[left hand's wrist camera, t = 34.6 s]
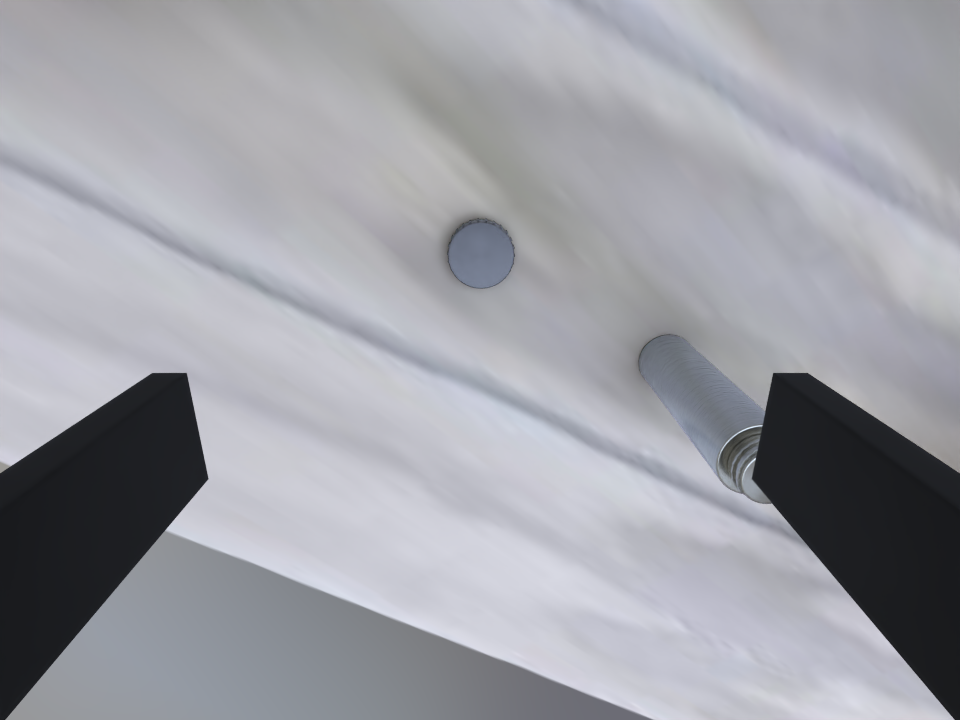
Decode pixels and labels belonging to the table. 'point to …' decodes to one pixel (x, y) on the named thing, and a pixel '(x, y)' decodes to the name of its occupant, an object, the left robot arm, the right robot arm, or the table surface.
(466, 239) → the lid
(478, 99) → the table surface
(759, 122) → the table surface
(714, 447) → the bottle
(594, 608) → the table surface
